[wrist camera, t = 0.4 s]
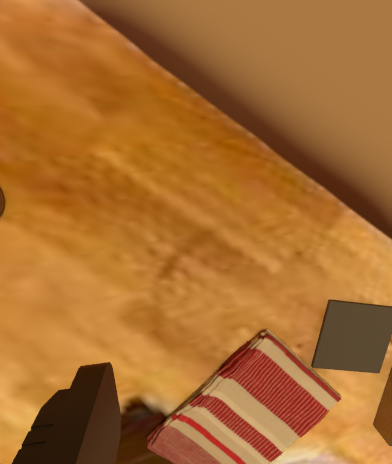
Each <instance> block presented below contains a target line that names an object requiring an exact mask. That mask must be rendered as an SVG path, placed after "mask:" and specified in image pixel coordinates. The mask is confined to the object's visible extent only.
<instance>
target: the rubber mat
mask: <svg viewBox="0 0 392 464" xmlns="http://www.w3.org/2000/svg"><path fill="white" fill-rule="evenodd" d="M391 335H392V307H389V306H381V305H372V304H363V303H354V302H345V301H336V300H329V301H328V305H327V309H326V312H325V316H324V320H323V324H322V328H321V331H320V335H319V339H318V343H317V346H316V350H315V354H314V358H313V362H312V365H311V366H312V367H313V368H323V369H334V370H346V371H358V372H369V373H380V370H381V366H382V363H383V360H384V357H385V354H386V351H387V348H388V345H389V341H390V338H391Z"/></svg>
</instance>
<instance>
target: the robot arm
mask: <svg viewBox="0 0 392 464" xmlns="http://www.w3.org/2000/svg"><path fill="white" fill-rule="evenodd" d="M120 434H121V414H120V407H119V402H118V396H117V390H116V384H115V379H114V373H113V368H112V365H111V363H110V362H107V363H100V364H93V365H85V366H81V367H80V368H79V369H78V371H77V373H76V376H75V378H74V380H73V382H72V385H71V387H70V389H64V390H58V391H57V392H56V393H55V394H54V395H53V396H52V397H51V398H50V399H49V400H48V401H47V402H46V403H45V404H44V405H43V407H42V408H41V409H40V411H39V413H38V415H37V417H36V419H35V421H34V423H33V425H32V426H31V431H29V432H28V434H27V436H26V438H25V440H24V442H23V443H22V448H21V449H19V451H18V453H17V455H16V457H15V459H14V460H13V462H12V464H115V463H116V458H117V452H118V447H119V441H120Z"/></svg>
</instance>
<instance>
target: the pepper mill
mask: <svg viewBox="0 0 392 464" xmlns="http://www.w3.org/2000/svg"><path fill="white" fill-rule="evenodd" d="M3 210H4V197H3V194H2V191H1V189H0V216H1V215H2V213H3Z"/></svg>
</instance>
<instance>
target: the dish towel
mask: <svg viewBox="0 0 392 464" xmlns="http://www.w3.org/2000/svg"><path fill="white" fill-rule="evenodd" d="M339 400H341V396H340V394H338V393H337V392H336V391H335V390H334V389H332V388H331V387H330V386H329V385H328V384H327V383H326V382H325V381H324V380H323V379H322V378H321V377H320V376H319V375H318V374H317V373H316V372H315V371H313V370H312V369H311V368H310V367H309V366H308V365H307V364H306V363H305V362H303V361H302V360H301V359H300V358H299V357H298V356H297V355H296V354H295V353H294V352H293V351H292V350H291V349H289V348H288V347H287V346H286V345H285V344H284V343H283V342H281V341H280V340H279V339H278V338H277V337H276V336H275V335H274V334H273V333H272V332H271V331H269V330H268V329H267V330H266V331H264V332H261V333H260V335H259V336H257V337H256V338H255V339H253V340H251V341H249V342H247V343H246V344H245V345H243V346H242V347H241V348H239V349H238V350H237V351H236V352H235V353H233V354H232V355H231V356H230V357H229V358H228V359H227V360H226V361H225V362H224V363H223V365H222V366H221V367H220V369H219V370H218V371H217V372H216V373H215V374H214V375H213V376H212V377H211V378H210V379H209V380H208V381H207V382H206V383H204V384H203V385H202V386H201V387H200V388H199V389H198V390H197V391H196V392H195V393H194V394H192V395H191V396H190V397H189V398H188V399H187V400H186V401H185V403H184V404H183V405H182V406H180V407H179V408H178V409H177V410H176V411H175V412H174V413H173V414H172V415H171V416H169V417H168V418H167V419H166V420H165V421H164V422H163V423H162V424H161V425H159V426H158V427H157V428H156V429H155V430H154V431H153V432H151V433H150V434H149V436H148V437H147V440H148V445H147V447H148V448H149V449H150V450H152V451H154V452H155V453H157V454H158V455H160V456H162V457H164V458H165V459H167V460H169V461H171V462H172V463H174V464H269V463H270V462H272V461H273V460H275V459H276V458H277V457H278V456H280V455H281V454H282V453H283V452H284V451H285V450H286V449H287V448H289V447H290V446H291V445H292V444H294V443H295V442H296V441H297V440H298V439H299V438H301V437H302V436H303V435H305V434H306V433H307V432H308V431H309V430H310V429H311V428H312V427H314V426H315V425H316V424H317V423H319V422H320V421H321V420H322V419H323V418H324V416H325V415H326V414H327V413H328V412H329V410H330V409H331V408H332V407H333V406H334V405H335V404H336V403H337V402H338V401H339Z"/></svg>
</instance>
